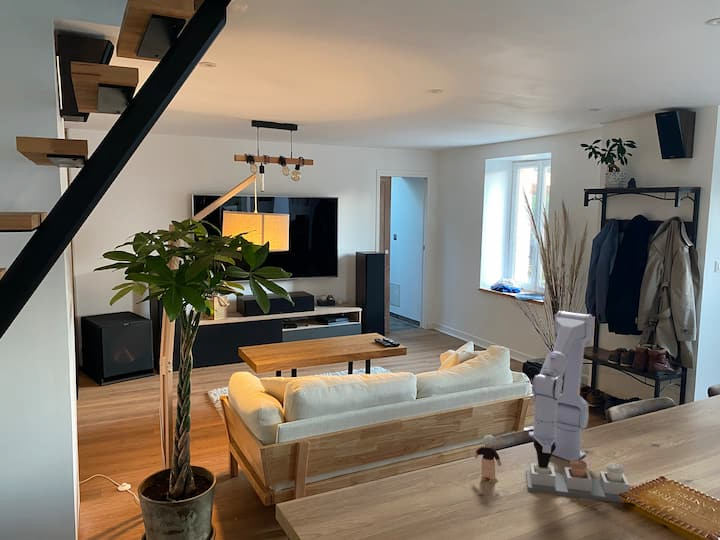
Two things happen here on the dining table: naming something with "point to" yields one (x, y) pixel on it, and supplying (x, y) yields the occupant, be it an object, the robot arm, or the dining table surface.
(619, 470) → the knob
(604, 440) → the dining table surface
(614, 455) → the dining table surface
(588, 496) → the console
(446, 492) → the dining table surface
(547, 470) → the knob
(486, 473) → the grandmother figurine
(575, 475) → the middle knob
